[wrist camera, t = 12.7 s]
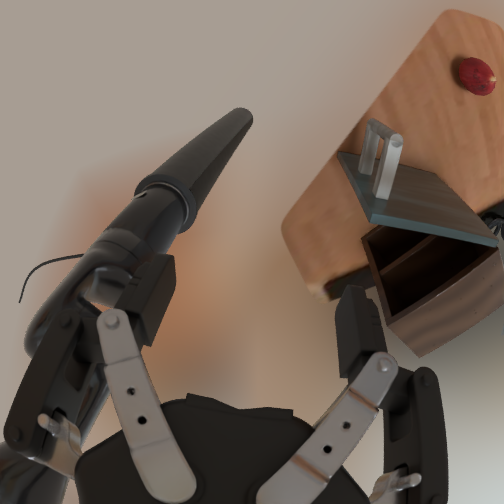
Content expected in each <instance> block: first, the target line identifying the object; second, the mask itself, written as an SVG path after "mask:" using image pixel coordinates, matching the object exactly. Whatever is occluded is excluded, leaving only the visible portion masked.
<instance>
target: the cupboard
mask: <svg viewBox="0 0 504 504" xmlns="http://www.w3.org/2000/svg"><path fill="white" fill-rule="evenodd" d="M361 241H362V243H363V246H364V249H365V252H366V255H367V258H368V262H369V265H370V268H371V271H372V274H373V278H374V281H375V284H376V288H377V291H378V295H379V298H380V302H381V306H382V309H383V313H384V317H385V321H386V325H387V327H388V328H389V329H390V330H391V331H392V332H393V333H394V334H395V335H396V336H397V337H398V338H399V339H400V340H401V341H402V342H403V343H405V345H406V346H407V347H408V348H410V350H412V352H413V353H415V354H416V355H417V356H418V357H419V358H420V357H422V356H424V355H426V354H428V353H430V352H432V351H433V350H435V349H437V348H439V347H440V346H442V345H444V344H445V343H447V342H449V341H451V340H452V339H454V338H455V337H457V336H459V335H460V334H462V333H463V332H465V331H466V330H468V329H469V328H471V327H472V326H474V325H475V324H477V323H478V322H480V321H481V320H483V319H484V318H485V317H487V316H488V315H490V314H491V313H492V312H494V311H495V310H496V309H498V308H499V307H500V306H502V305H503V304H504V268H503V263H502V259H501V255H500V251H499V248H498V247H497V246H496V247H491V246H487V245H482V244H478V243H473V242H469V241H464V240H459V239H454V238H449V237H444V236H439V235H434V234H429V233H424V232H419V231H413V230H408V229H402V228H396V227H390V226H385V225H378V226H377V227H376V228H374V229H373V230H372V231H370V232H369V233H368V234H366V235H365V236H364V237H362V238H361Z"/></svg>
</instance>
